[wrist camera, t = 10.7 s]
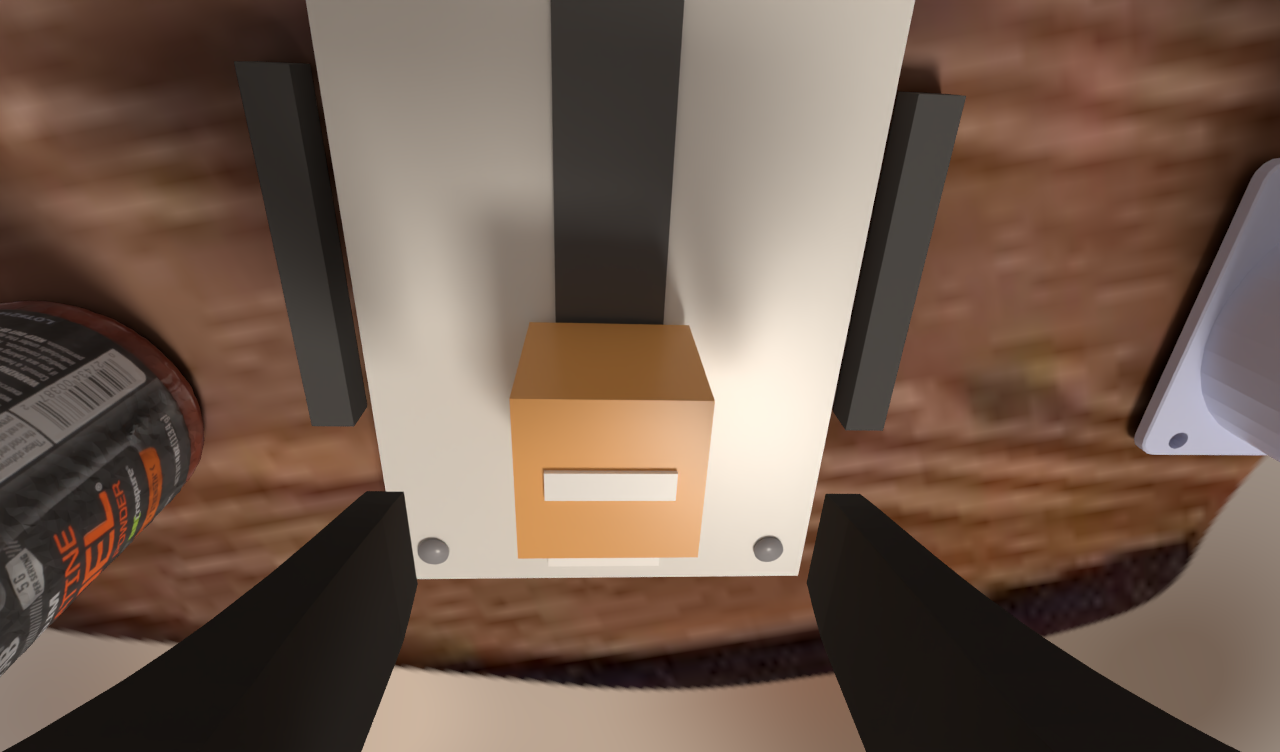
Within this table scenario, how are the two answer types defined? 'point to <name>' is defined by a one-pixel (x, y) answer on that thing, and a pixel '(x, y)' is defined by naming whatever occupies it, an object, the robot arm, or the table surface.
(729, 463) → the panel
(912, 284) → the twin dark grey rails
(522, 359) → the orange cube
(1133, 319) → the table surface
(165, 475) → the supplement bottle
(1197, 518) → the table surface
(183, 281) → the table surface
